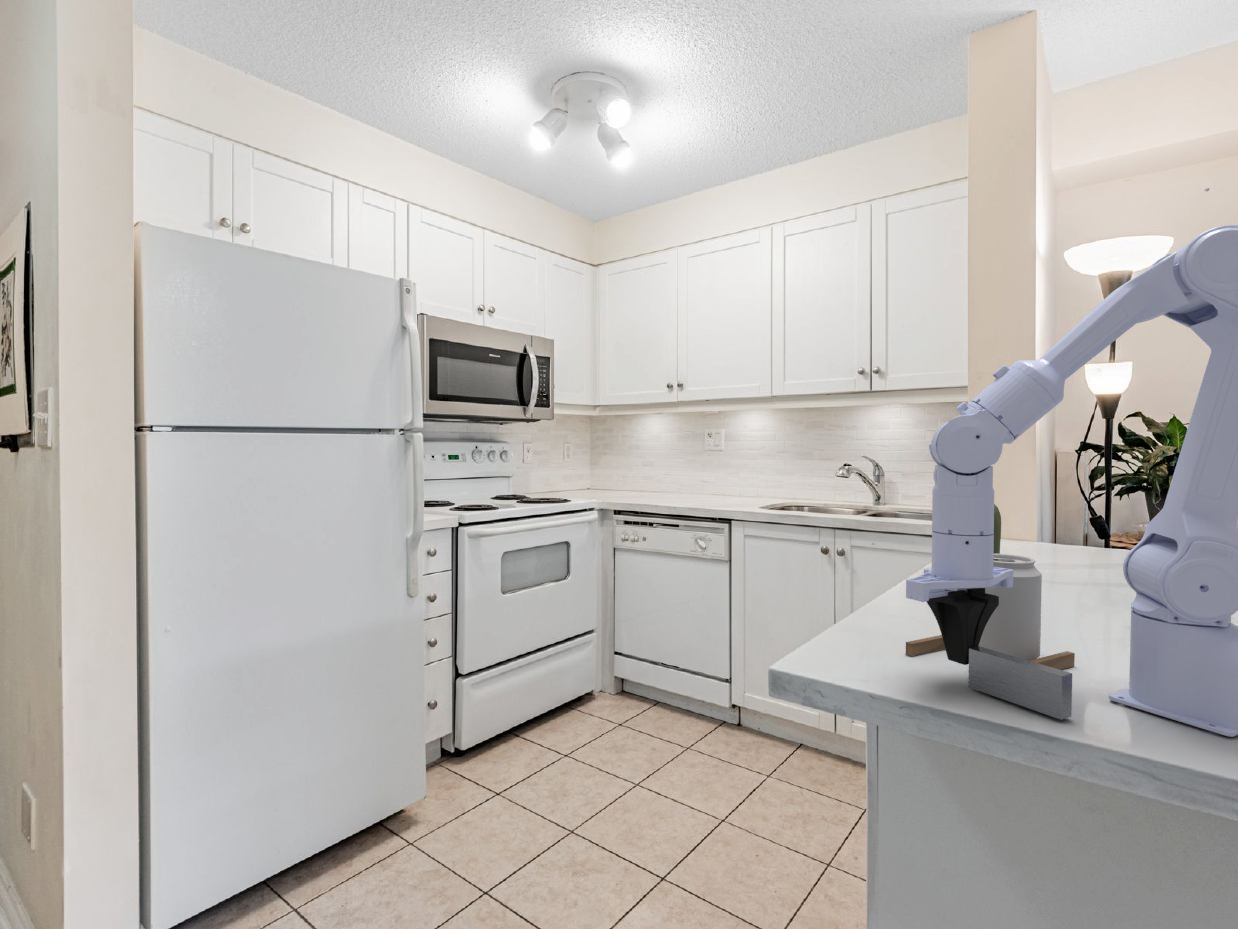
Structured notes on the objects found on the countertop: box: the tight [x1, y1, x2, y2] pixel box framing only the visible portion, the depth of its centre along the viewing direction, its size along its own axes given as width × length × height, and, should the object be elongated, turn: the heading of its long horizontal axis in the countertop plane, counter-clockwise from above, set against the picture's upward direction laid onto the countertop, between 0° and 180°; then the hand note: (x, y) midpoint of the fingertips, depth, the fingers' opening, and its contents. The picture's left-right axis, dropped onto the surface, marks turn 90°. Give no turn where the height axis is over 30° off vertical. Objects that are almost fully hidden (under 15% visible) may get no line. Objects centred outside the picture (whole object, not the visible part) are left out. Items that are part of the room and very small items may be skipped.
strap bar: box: [967, 646, 1073, 721], centre depth 63 cm, size 9×2×4 cm, turn 27°
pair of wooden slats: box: [905, 634, 1076, 670], centre depth 76 cm, size 12×14×2 cm
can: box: [979, 553, 1043, 661], centre depth 77 cm, size 8×8×12 cm
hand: (960, 661), depth 69 cm, fingers closed, pressing on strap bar
